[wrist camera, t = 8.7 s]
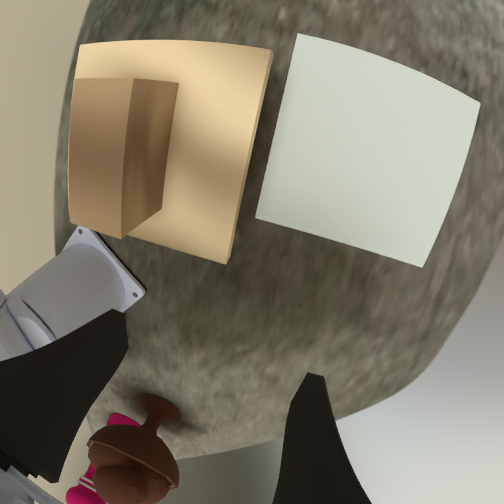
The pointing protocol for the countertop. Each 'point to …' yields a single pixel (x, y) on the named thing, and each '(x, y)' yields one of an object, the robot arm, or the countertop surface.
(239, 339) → the countertop surface
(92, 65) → the lid
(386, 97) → the mat
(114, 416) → the pepper mill
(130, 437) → the ice cream bowl
